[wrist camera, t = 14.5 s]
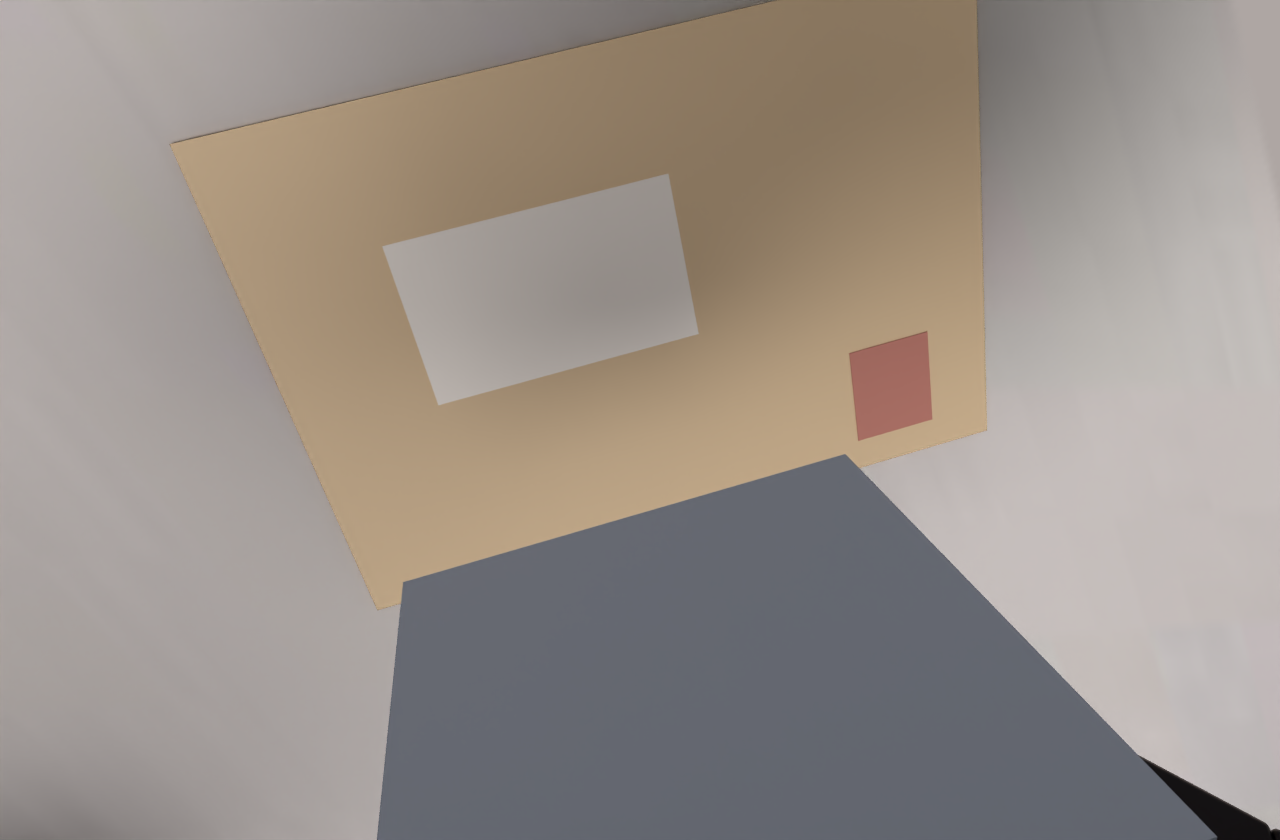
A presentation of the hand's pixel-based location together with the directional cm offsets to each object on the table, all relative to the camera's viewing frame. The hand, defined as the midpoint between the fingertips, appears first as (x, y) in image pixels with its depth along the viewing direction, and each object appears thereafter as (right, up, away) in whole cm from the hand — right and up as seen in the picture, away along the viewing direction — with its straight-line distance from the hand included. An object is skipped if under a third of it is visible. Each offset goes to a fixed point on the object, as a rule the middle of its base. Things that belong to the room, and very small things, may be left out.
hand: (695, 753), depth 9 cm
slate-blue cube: (0, +1, +1) cm, 1 cm away
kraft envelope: (-1, +6, +9) cm, 11 cm away
